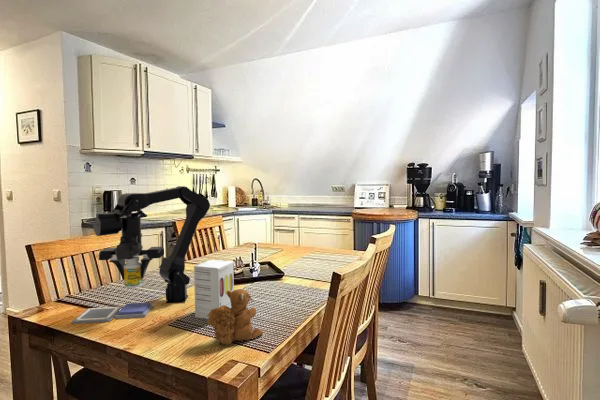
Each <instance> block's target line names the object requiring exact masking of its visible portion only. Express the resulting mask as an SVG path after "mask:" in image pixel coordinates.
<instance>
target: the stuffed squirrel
mask: <svg viewBox="0 0 600 400" xmlns="http://www.w3.org/2000/svg"><path fill="white" fill-rule="evenodd" d="M226 293H227V295H228V297H229V298H230V301H231V306H232V307H231V308H229V307H227V306H225V305H223V306H221V307H219V308H215V309H212V310H211V311H210V312H209V314H208V315H206V316H207V317H210V318H209V319H206V320H207V323H208V325H209V327H210V326H211V327H213V330H214V336H215V339H216V340H217V341H218V342H220V343H222V344H223V345H226V346H227V345H228V346H229V345H232V343H233V342H236V340H237V341H238V342H244V341H243V340H246V341H250V340H249V339H252V338H255V337H257V338H259V337H258V336H260V335H262V336H263V334H264V333H263V330H262V329H260V328H254V329H253V326H252V322H251V320H252V318H254V317H255V316H256V315H257V309H256V307H251V308H250V309H249V308H248V307H247V305H249V302H250V301H251V303H254V302H255V301H254V299H253V297H252V296H251V295H250V293H249V291H247V290H245V289H242V288H240V289H239V288H238V289H234V291H232V292H231V291H227V292H226ZM260 337H261V336H260ZM255 339H256V338H255Z"/></svg>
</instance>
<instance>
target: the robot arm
mask: <svg viewBox="0 0 600 400" xmlns="http://www.w3.org/2000/svg"><path fill="white" fill-rule="evenodd" d="M177 199H179V200H180V201H181V202H182V203H183V204H185V205H186V206H185V207H186V208H185V220H184V222H183V225H182V227H181V230H180V232H179V234H178V237H177V240H176V242H175V244H174V247H173V248H172V252H171V253H170V254H169V256H168V257H165V256H164V255H165V248H164V247H163V246H151V247H150V248H147V249H143V248H144V246H143V244H142V237H143V233H142V226H141V225H142V224H141V223H142V221H141V218H147V217H148V214H146V213H145V212H144V211H143V209H146V208H148V207H149V206H150V205H153V204H158V203H162V202H167V201H172V200H177ZM210 207H211V203H210V201H209V199H208V198H207V197H204V196H201V195H200V194H198V193H197V192H195V191H193V190H191V189H190V188H189V187H187V186H181V185H179V186H178V185H177V186H176V187H170V188H166V189H160V190H156V191H151V192H145V193H144V192H142V193H141V192H131V193H130V192H128V193H127V192H126V193H122V194H121V195H120V196H119V197H118V200H117V204H116V205H115V206H114V207H113V209H112V210H111V212H109V213H101V212H100V213H96V214H95V219H94V221H93V232H94V234H95V236H97V237H101V236H111V235H118V234H119V232H121V236H120V238H119V239H120V240H119V244H117V247H106V248H104V249H101V250H100V251H99V252H98V261H109V263H113V264H114V265H115V266H116V268H117V269H118V271H119V274H120V276H121V278H122V280H123V281H124V265H125V264H126V259H128V260H129V259H132V258H133V257H134V256H139V257H140V256H142V259H140V263H141V264H142V265H141V279H142V280H143V279H144V278H145V275H146V273H147V269H148V267H149V265H150V262H151V261H152V260H153V259H161V258H162V257H163V256H164V257H163V258H162V260H161V264H160V265H159V266H158V269H159V270H158V271H159V275H160V278H161V279H163V280H164V283H167V284H166V287H165V300H166V301H165V303H166V304H174V303H175V304H179V303H185V302H186V301H187V299H188V298H189V294H188V287H187V285H189V284H190V281H191V278H190V277H189V276H188V275H187V274H185V268H186V261H185V259H186V256H187V253H188V251H189V248H190V247H191V243H192V240H193V238H194V237H195V236H194V235H195V233H196V230H197V228H198V225H199V222H200V221H201V220H202V219H204V217H205V216H206V215H207V214H208V212H209V210H210V209H211V208H210Z"/></svg>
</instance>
